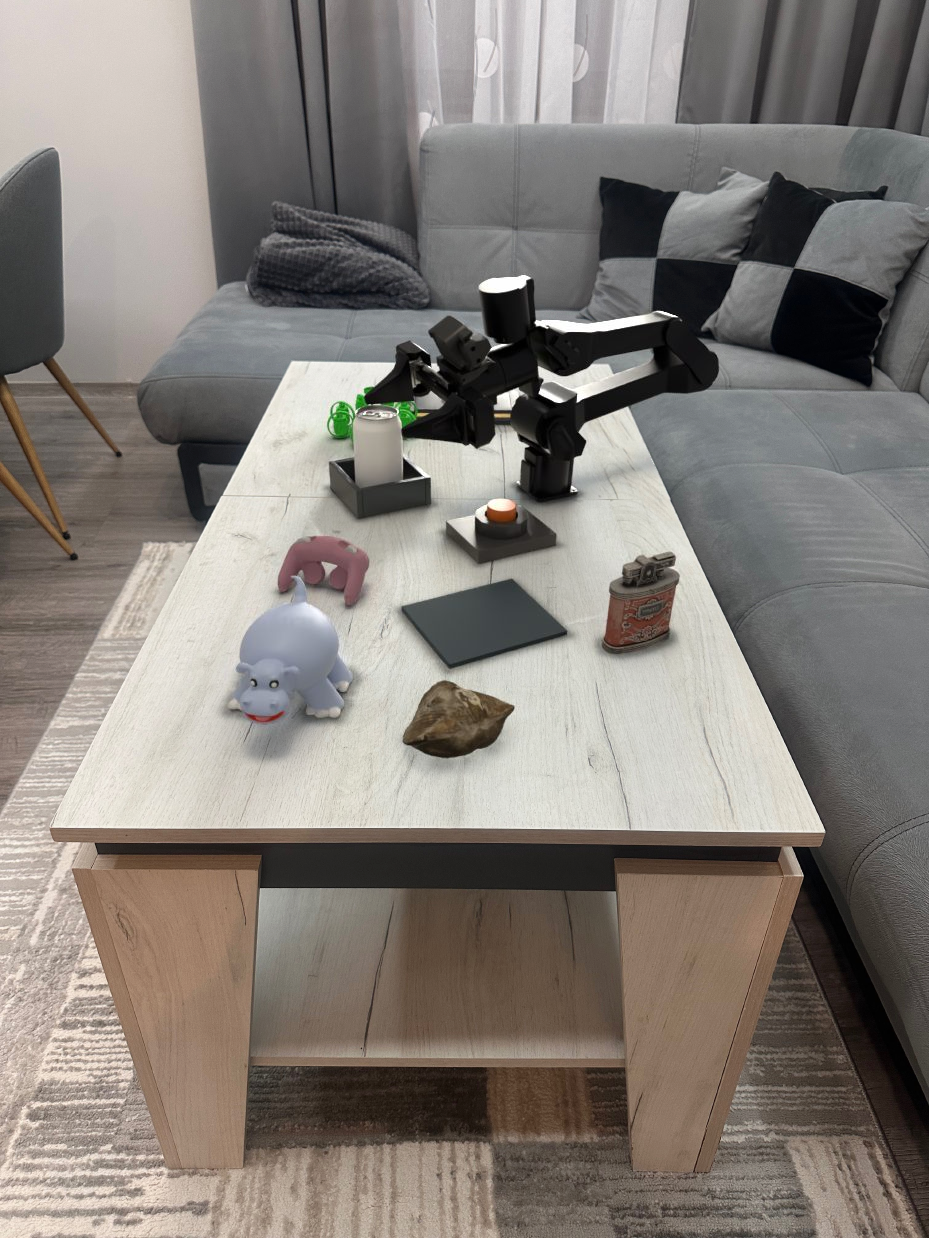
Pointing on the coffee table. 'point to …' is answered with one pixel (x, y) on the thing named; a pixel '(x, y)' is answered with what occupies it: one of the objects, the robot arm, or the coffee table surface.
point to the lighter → (641, 604)
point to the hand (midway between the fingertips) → (382, 416)
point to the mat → (482, 622)
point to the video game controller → (330, 550)
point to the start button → (501, 510)
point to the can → (377, 445)
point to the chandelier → (343, 412)
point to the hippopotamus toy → (290, 663)
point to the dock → (380, 489)
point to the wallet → (434, 403)
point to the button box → (500, 535)
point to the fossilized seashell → (455, 721)
